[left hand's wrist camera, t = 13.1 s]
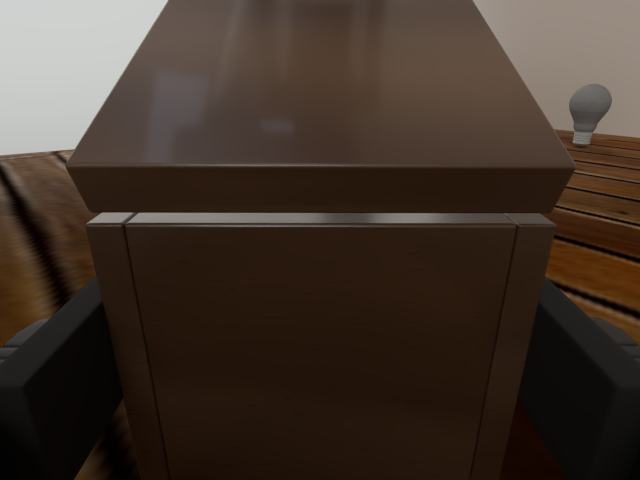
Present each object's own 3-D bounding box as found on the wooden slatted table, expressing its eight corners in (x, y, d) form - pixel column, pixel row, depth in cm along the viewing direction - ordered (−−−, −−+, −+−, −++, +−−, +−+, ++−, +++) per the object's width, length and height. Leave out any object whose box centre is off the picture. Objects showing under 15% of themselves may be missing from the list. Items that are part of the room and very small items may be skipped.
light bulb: (569, 148, 72) (582, 84, 69) (555, 142, 78) (567, 83, 74) (607, 149, 72) (623, 84, 68) (591, 143, 77) (605, 83, 74)
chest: (243, 273, 28) (232, 119, 24) (395, 273, 28) (407, 120, 24) (151, 533, 13) (83, 224, 9) (488, 533, 13) (557, 224, 9)
